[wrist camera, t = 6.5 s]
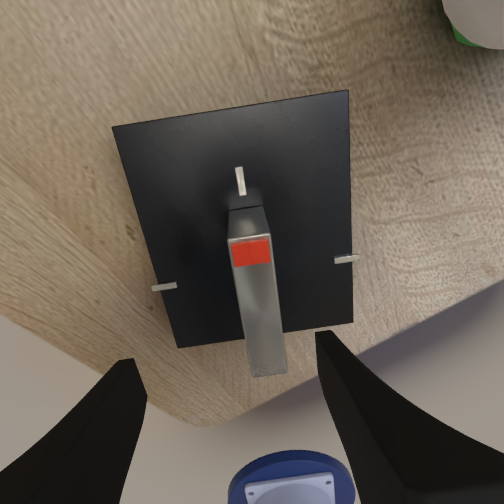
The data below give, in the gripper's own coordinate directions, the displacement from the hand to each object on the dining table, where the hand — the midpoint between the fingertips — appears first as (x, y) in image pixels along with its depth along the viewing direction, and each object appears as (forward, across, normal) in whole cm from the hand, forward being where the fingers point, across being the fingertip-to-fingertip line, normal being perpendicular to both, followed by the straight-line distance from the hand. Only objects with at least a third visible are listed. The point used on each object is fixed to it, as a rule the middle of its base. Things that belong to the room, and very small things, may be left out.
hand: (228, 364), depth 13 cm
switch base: (+9, -2, -3) cm, 10 cm away
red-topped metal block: (+6, -1, -1) cm, 6 cm away
